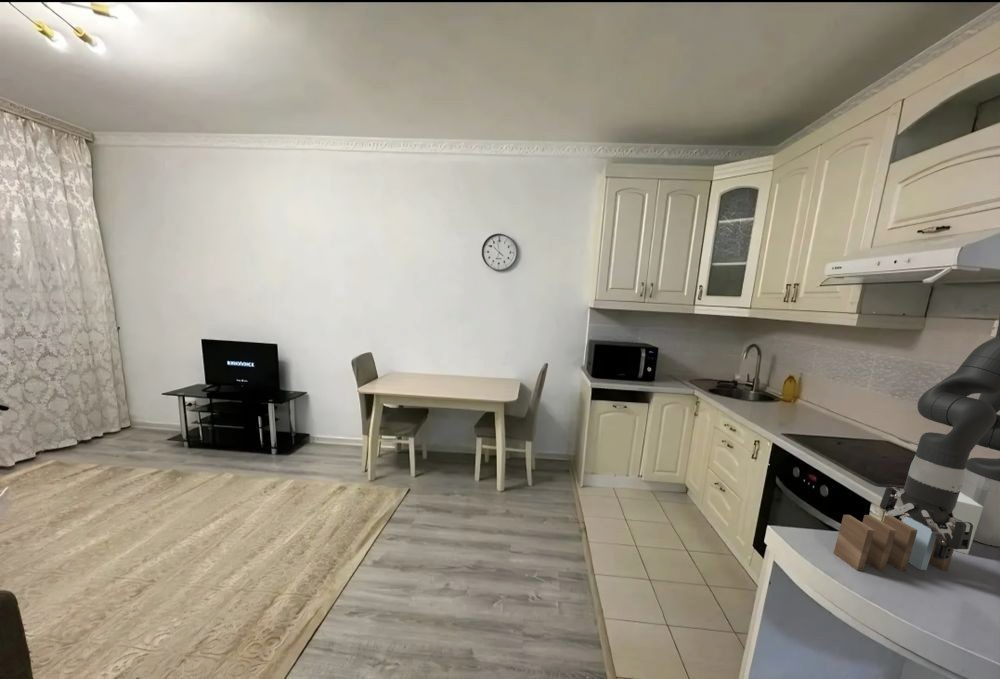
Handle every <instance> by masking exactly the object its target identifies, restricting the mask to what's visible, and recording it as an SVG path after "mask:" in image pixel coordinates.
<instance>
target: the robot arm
mask: <svg viewBox="0 0 1000 679" xmlns="http://www.w3.org/2000/svg"><path fill="white" fill-rule="evenodd" d="M974 394H980V395H979V397H978V398H973V397H969V396H970V395H974ZM917 412H918V413H919V415H921V417H923V418H924V419H927V420H928V421H932V422H935V423H937V424H942V425H945V426H948V427H951V428H952V429H951V430H950V431H949V432H948V433H947V434H945V433H939V432H925V433H923V434H921V435H920V439H919V440H918V444H917V448H916V452H915V455H914V458H913V460H912V461H911V462H910V463H911V464H910V467H909V470H908V473H907V476H906V481H905V482H904V487H903V491H904V492H903V491H902V490H901V489H900V487H895V486H894V487H893V486H892V487H889V486H887V487H886V488H885V490H884V493H883V496H882V498H881V501H880V504H879V507H880V509H882V510H884V511H885V512H886V513H887V515H891V516H893V517H894V518H896V519H898V520H900V521H902V518H901V517H904V516H910V517H912V518H914V519H917V520H919V521H920V522H922V523H923V524H925V525H929V527H930V529H931V531H932V532H933V533H935V535H936V537H937V539H938V541H939V543H937V544H936V548H935V551H934V554H933V557H934V558H935V559H937V560H945V559H949V557H950V554H951V551H952V548H954V549H968V548H969V543H970V539H971V534H972V530H973V525H972V523H970V522H964V521H961V520H959V519H957V518H954V517H953V514H952V511H953V509H954V508H955V506H956V503H957V500H958V496H959V493H960V492H961V493H963V494H964V495H966V496H968V497H970V498H971V499H973V500H974V501H975V502H977V503H978V504H980V505H981V506H983V510H982V513H981V516H980V519H979V522H978V525H977V529H976V532H975V535H974V538H973V541H975V542H978V543H980V544H984V545H987V546H991V545H992V547H996V546H1000V458H987V457H970V454H971V452H972V450H973V449H974V448H975V447H976V446H980V447H983V448H985V449H990V450H994V451H998V452H1000V414H998V412H1000V315H999V318H998V324H997V329H996V334H995V337H993V338H992V339H989V340H987V341H985V342H983V343H981V344H979V345H978V346H977V347H976V348H974V349H973V350H972V351H971V353H969V354H968V356H967V357H966V358H965V360H964V361H963V362H962V363H961V365H960V366H959V367H958V368H957V370H956V371H955V372H954V373H952V374H950V375H949V376H947V377H946V378H944V379H942V380H941V381H939V382H938V383H936V384H935V385H934V386H932V387H930V389H927V390H926V391H925V392H924V393H923V394H922V395H921V396H920V397H919V399H918V401H917ZM969 457H970V458H969ZM899 499H900V500H901V502H902V505H900V506H898V507H896V504H897V501H898V500H899ZM948 522H951V523H952V528H954V532H953V537H952V535H951V533H952V531H951V529H950V527H949V525H948ZM939 525H940V527H941V529H939V528H938V526H939Z"/></svg>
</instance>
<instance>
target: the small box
mask: <svg viewBox="0 0 1000 679" xmlns="http://www.w3.org/2000/svg"><path fill="white" fill-rule="evenodd" d="M982 510H983V506H981V505H980V504H978V503H977V502H975V501H974V500H973V499H971V498H970V497H968V496H966V495H964V494H963V493H961V492H960V493H959V496H958V500H957V503H956V506H955V508H954V509H953V511H952V514H953V517H954V518H957V519H959V520H961V521H964V522H970V523H972V525H973V530H972V534H971V539H970V543H969V548H968V549H954V551H955V552H958V553H962V554H965V555H969V553H970V549H971V547H972V544H973V541H974V540H973V538H974V535H975V532H976V529H977V525H978V522H979V519H980V516H981V513H982ZM948 525H950V526H952V523H951V522H948ZM954 551H953V552H954Z"/></svg>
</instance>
